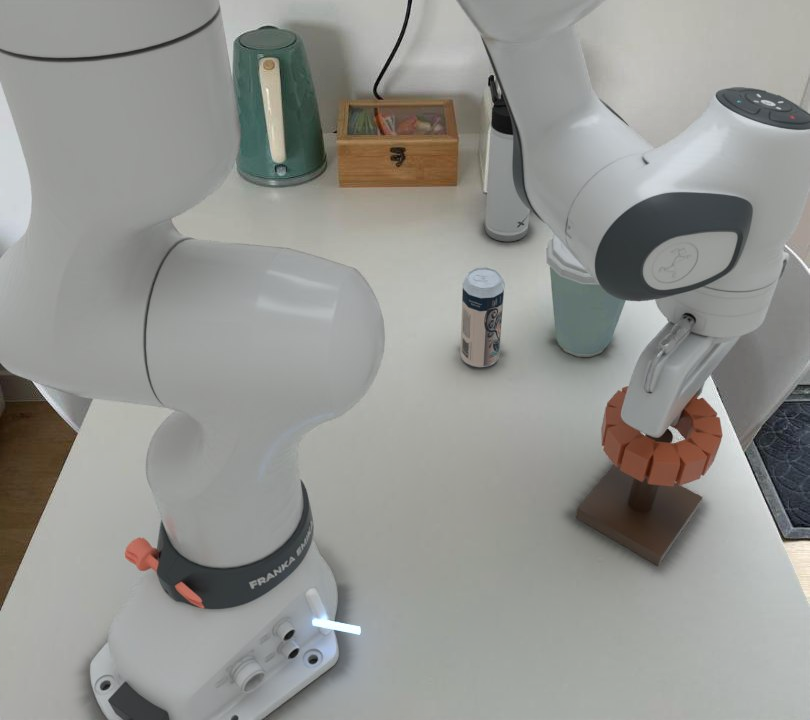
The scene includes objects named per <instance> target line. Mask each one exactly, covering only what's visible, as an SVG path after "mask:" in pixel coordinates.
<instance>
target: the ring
mask: <svg viewBox="0 0 810 720" xmlns="http://www.w3.org/2000/svg"><path fill="white" fill-rule="evenodd" d="M628 386H629V385H627V386H623V387H622V388H621V390H617V391H616V392H615V393H614V395H612V397H611V398H610V399H609V400H608V401H607V402H606V406H605V408H604V413H603V417H602V423H601V428H600V430H601V431H600V432H601V433H600V435H601V436H600V437H601V439H600V440H601V446H602V447H603V448H602V450H603V452H604V453H605V455H606V456H607V457H608V459H609V460H610V462H612V465H615V466H616V467H617V466H620V465H621V468H620V471H622V472H624V473H626V474H628V475H630V476H632V477H634V478H635V479H637V480H639V481H641V482H643V481H644V479H645V478H646V477H647V480H648V484H654V485H663V486H672V487H673V486H674V483H677V484H678V486H683V485H686V484H689V483H692V482H694V481H698V480H700V479H701V476H705V475H706V473H707V472H708V471H709V469H710V468H711V466H712V465H713V463H714V462H715V460H716V457H717V454H718V451H719V448H720V445H721V444H722V443H721V442H722V439H723V436H724V435H723V430H722V429H723V428H722V424H721V423H722V422H721V418H720V417H719V416H718V412H717V411H716V410H715V408H713V407H712V406H711V405H710V404H709V402H708V401H707V400H706V399H705V398H704V397H700V398H699V397H698V394H696V393H695V395H694V396H693V397H692V398H691V400H690V401H689V402H688V403H687V405H686V407H685V410H684V413H683V416H682V418H681V419H680V421H679V422H678V423H677V424H676V425H675V426H673V427H672V426H670V427H671V428H673V429H675V430H676V431H677V432H678V433H679V434H680V435H681V436H682V437H683V439H682V440H680V441H679V440H678V441H676V442H672V443H666V442H656V441H654V440H652V439H650V438H648V437H646V436H645V434H643V433H642V432H640V431H638V430H636V429H634V428H633V427H631V426H629V425H628V424H626V423H625V422H624V421H623V420H622V418H621V410H622V406H623V403H624V399H625V396H626V392H627V389H628Z"/></svg>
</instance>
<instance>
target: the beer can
mask: <svg viewBox="0 0 810 720" xmlns="http://www.w3.org/2000/svg"><path fill="white" fill-rule="evenodd" d="M505 287H506V283H505V280H504V279H503V277H502V275H501V274H500V273H499V271H498V270H497V269H493V268H490V267H485V266H484V267H475V268H474V269H472V270H470V271H468V273H467V275H466V276H465V277H464V279H463V281H462V296H461V324H460V326H461V327H460V331H461V332H460V350H459V351H460V352H459V353H460V354H459V355H460V358H461V360H462V361H463V362H464V363H465V364H467V365H469V366H471V367H475V368H485V367H490V366H493V365H494V364H495V363H496V362H498V360H499V359H500V350H501V349H500V348H501V346H500V345H501V335H502V322H503V310H504V309H503V308H504V294H505Z"/></svg>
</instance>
